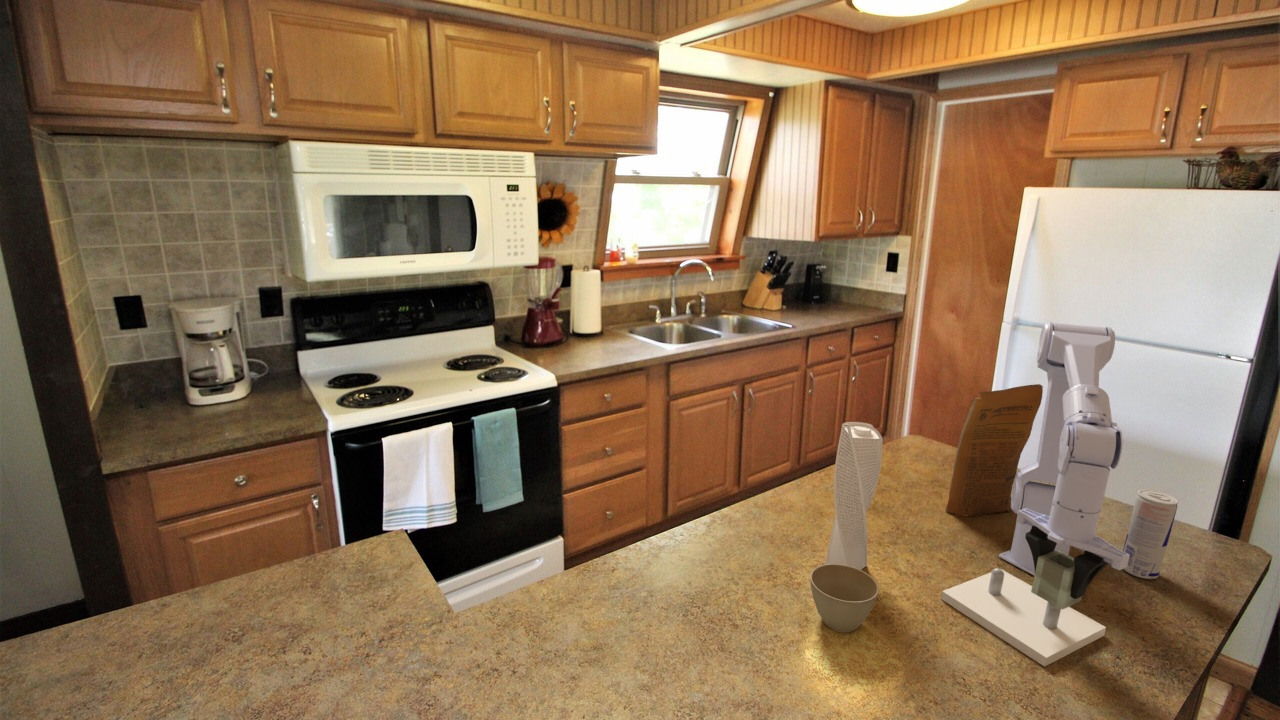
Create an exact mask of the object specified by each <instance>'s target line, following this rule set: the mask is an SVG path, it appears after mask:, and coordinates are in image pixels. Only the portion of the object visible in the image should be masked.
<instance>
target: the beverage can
mask: <svg viewBox="0 0 1280 720" xmlns="http://www.w3.org/2000/svg"><path fill="white" fill-rule="evenodd" d="M1178 504H1179V500H1178V499H1177V498H1176V497H1174V496H1172V495H1170V494H1167V493H1165V492H1161V491H1157V490H1153V489H1144V488H1143V489H1139V490H1137V494H1136V497H1135V501H1134V504H1133V510H1132V513H1131V516H1130V517H1131V518H1130V522H1129V524H1128V525H1129V526H1128V529H1127V533H1126V538H1125V541H1124V545H1123V550H1122V551H1123V552H1125V553H1127V554H1129V555H1130V557H1129V561H1128V565H1127V567H1126V568H1124V569H1123V570H1124V571H1125V572H1126V573H1128V574H1130V575H1131V576H1134V577H1137V578H1140V579H1146V580H1154V579H1157V578H1159V577H1160V572H1161V569H1162V566H1163V562H1164V559H1165V554H1166V552H1167V547H1168V543H1169V539H1170V535H1171V532H1172V529H1173V528H1172V527H1173V524H1174V521H1175V517H1176V513H1177V510H1178Z"/></svg>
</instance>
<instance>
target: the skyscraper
mask: <svg viewBox="0 0 1280 720" xmlns="http://www.w3.org/2000/svg"><path fill="white" fill-rule="evenodd" d="M837 444H838V445H837V450H836V458H835V462H834V463H835V464H834V475H833V501H834V502H833V503H834V513H835V517H834V520H833V525H832V529H831V534H830V537H829V542H828V545H827V551H826V556H825V561H824V565H825V564H842V565H848V566H852V567H855V568H858V569H860V570H863V569H864V568H867V567H868V524H867V513H868V509H869V508H870V505H871V503H872V501H873V497H874V495H875V492H876V490H877V485H878V482H879V478H880V474H881V468H882V457H883V437H882V434H881V433H880V432H879V430H878V429H876V428H875V426H874V425H873V424H871V423H867V422H861V421H847V422H843V423H842V424H841V430H840V434H839V440H838V443H837Z"/></svg>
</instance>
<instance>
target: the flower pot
mask: <svg viewBox="0 0 1280 720" xmlns="http://www.w3.org/2000/svg"><path fill="white" fill-rule="evenodd" d="M809 582H810V589H811V590H810V591H811V594H812V598H813V601H814V605H815V606H816V609H817V613H818V614H819V616H820V618H821V619H822V622H823V623H824V624H825V626H827V627H828V628H829V629H830V630H832V631H836V632H839V633H851V632H854V631H855V630H856V629H857V628H859V627H860V626H861V624H863V623H864V621H865V620H866V619H867V618H868V616H869V615H870V613H871V612H872V610H873V608H874V606H875V604H876V602H877V599H878V595H879V592H880V586H879V584H878V582H877V581H876V579H875V578H874V577H873V576H871V575H870V574H869V573H867V572H865V571H864V570H863V569H861V570H860V569H858V568H855V567H852V566H848V565H842V564H825V563H824V564H821V565H819V566H816V567H815V568H813V570H812V571H811V572H810V581H809Z"/></svg>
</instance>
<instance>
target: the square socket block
mask: <svg viewBox="0 0 1280 720" xmlns="http://www.w3.org/2000/svg"><path fill="white" fill-rule="evenodd" d="M1074 570H1075V568H1074V557H1072V556H1071V555H1069V554H1068V555H1066V554H1064V553H1062V552H1060V551H1058V550H1055V551H1053V552H1050V553H1047V554H1045V555H1042V556H1040V557H1038V561H1037V566H1036V571H1035V576H1034V575H1033V576H1034V577H1033V581H1032V585H1031V586H1032V590H1031V592H1032V593H1034V594H1035V595H1037V596H1039V597H1041V598H1043V599H1044V600H1046V601H1048V602H1050V603H1051V604H1053V605H1055V606H1057V607H1059V608H1060V609H1062V610H1063V609H1065V608H1067V607H1071V606H1074V605H1076V604H1077V603H1080V602H1081V601H1082V598H1083V596H1082V597H1080V598H1077V599H1074V598H1072V597H1071V588H1072V584H1073V580H1074Z"/></svg>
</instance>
